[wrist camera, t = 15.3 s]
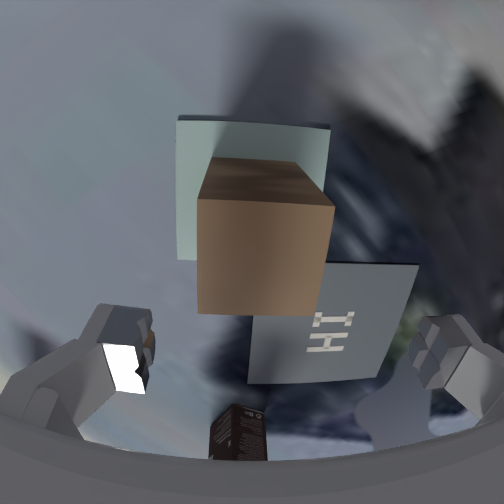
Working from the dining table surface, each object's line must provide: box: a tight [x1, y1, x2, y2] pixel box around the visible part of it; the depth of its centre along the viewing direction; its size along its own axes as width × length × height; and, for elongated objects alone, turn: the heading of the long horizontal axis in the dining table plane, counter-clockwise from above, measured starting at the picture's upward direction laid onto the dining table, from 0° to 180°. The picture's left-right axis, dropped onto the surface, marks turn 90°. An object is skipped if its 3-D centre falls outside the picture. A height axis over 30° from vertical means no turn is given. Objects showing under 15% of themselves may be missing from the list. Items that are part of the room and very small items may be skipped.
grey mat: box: [247, 263, 419, 384], centre depth 28 cm, size 14×14×1 cm
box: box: [208, 404, 268, 461], centre depth 28 cm, size 6×4×12 cm
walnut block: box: [197, 157, 335, 316], centre depth 18 cm, size 6×6×9 cm
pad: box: [176, 120, 331, 260], centre depth 22 cm, size 10×10×1 cm
